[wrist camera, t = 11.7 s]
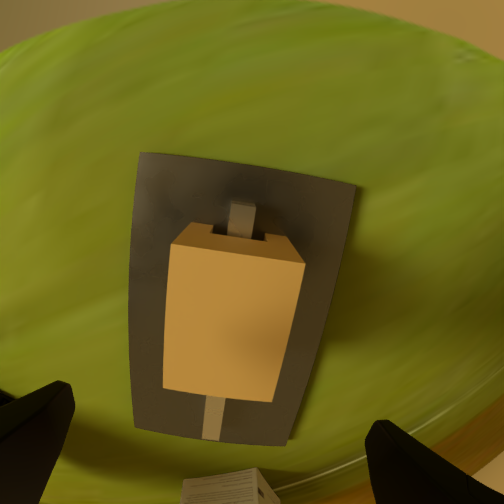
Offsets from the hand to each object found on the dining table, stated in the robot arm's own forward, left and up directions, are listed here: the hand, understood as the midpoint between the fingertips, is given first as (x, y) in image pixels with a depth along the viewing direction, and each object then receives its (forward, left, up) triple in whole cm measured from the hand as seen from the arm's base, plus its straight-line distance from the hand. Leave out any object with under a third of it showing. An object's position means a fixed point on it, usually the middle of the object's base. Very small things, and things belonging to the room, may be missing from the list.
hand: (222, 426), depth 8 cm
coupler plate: (-3, 0, -11) cm, 12 cm away
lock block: (0, 0, -10) cm, 11 cm away
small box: (-23, -3, -12) cm, 26 cm away
